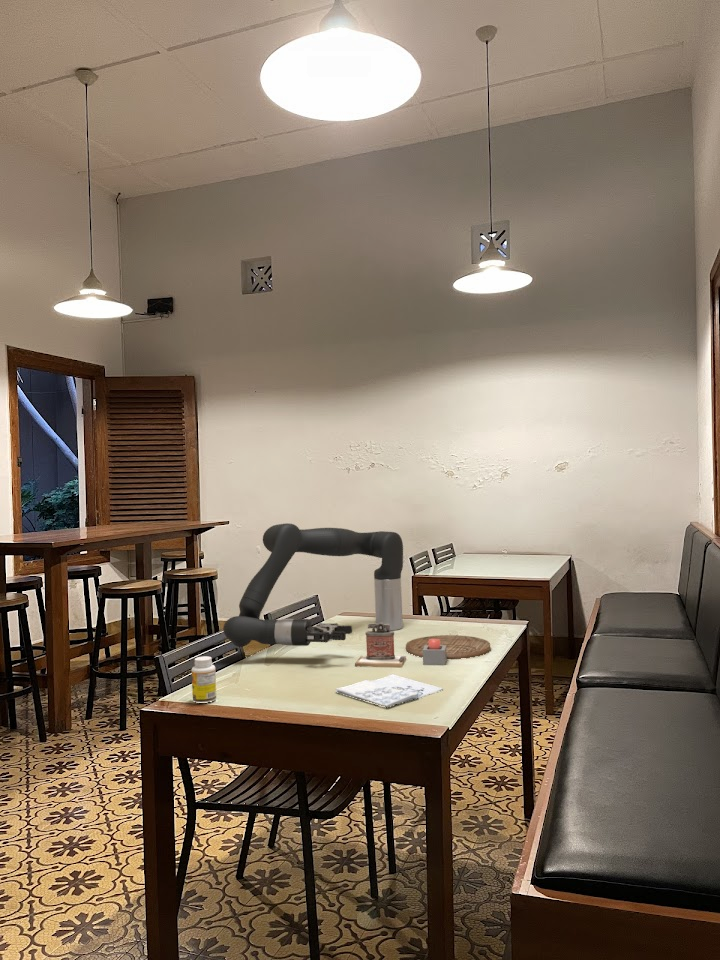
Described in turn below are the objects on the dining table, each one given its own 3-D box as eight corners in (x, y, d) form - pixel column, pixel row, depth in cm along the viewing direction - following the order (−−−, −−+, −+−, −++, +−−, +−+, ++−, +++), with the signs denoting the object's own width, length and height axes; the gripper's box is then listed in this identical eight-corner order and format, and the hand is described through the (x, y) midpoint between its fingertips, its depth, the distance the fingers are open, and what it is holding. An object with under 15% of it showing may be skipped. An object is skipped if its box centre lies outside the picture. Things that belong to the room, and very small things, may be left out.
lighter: (395, 657, 206) (394, 621, 206) (394, 660, 203) (393, 624, 203) (367, 657, 207) (365, 622, 207) (365, 660, 203) (364, 624, 203)
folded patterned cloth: (333, 695, 177) (333, 686, 177) (394, 678, 190) (394, 670, 190) (386, 712, 162) (385, 702, 162) (448, 693, 175) (448, 683, 175)
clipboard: (361, 658, 210) (361, 653, 210) (406, 659, 207) (405, 654, 207) (354, 666, 201) (354, 661, 201) (401, 667, 198) (401, 662, 198)
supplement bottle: (195, 698, 176) (194, 655, 176) (218, 697, 176) (217, 654, 176) (190, 705, 171) (188, 661, 171) (213, 704, 170) (212, 660, 170)
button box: (425, 659, 206) (424, 645, 206) (446, 659, 205) (446, 645, 205) (423, 664, 200) (422, 650, 200) (445, 665, 199) (444, 650, 199)
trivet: (418, 639, 234) (418, 633, 234) (497, 643, 225) (496, 636, 225) (395, 658, 210) (395, 651, 210) (481, 662, 202) (481, 656, 202)
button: (429, 653, 205) (429, 638, 205) (441, 653, 204) (440, 638, 204) (428, 656, 201) (427, 641, 201) (440, 656, 201) (439, 641, 201)
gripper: (285, 623, 202) (343, 624, 199) (299, 614, 216) (353, 614, 213) (286, 650, 202) (343, 651, 199) (300, 639, 216) (353, 640, 213)
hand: (348, 632), depth 206 cm, fingers open, 8 cm apart
